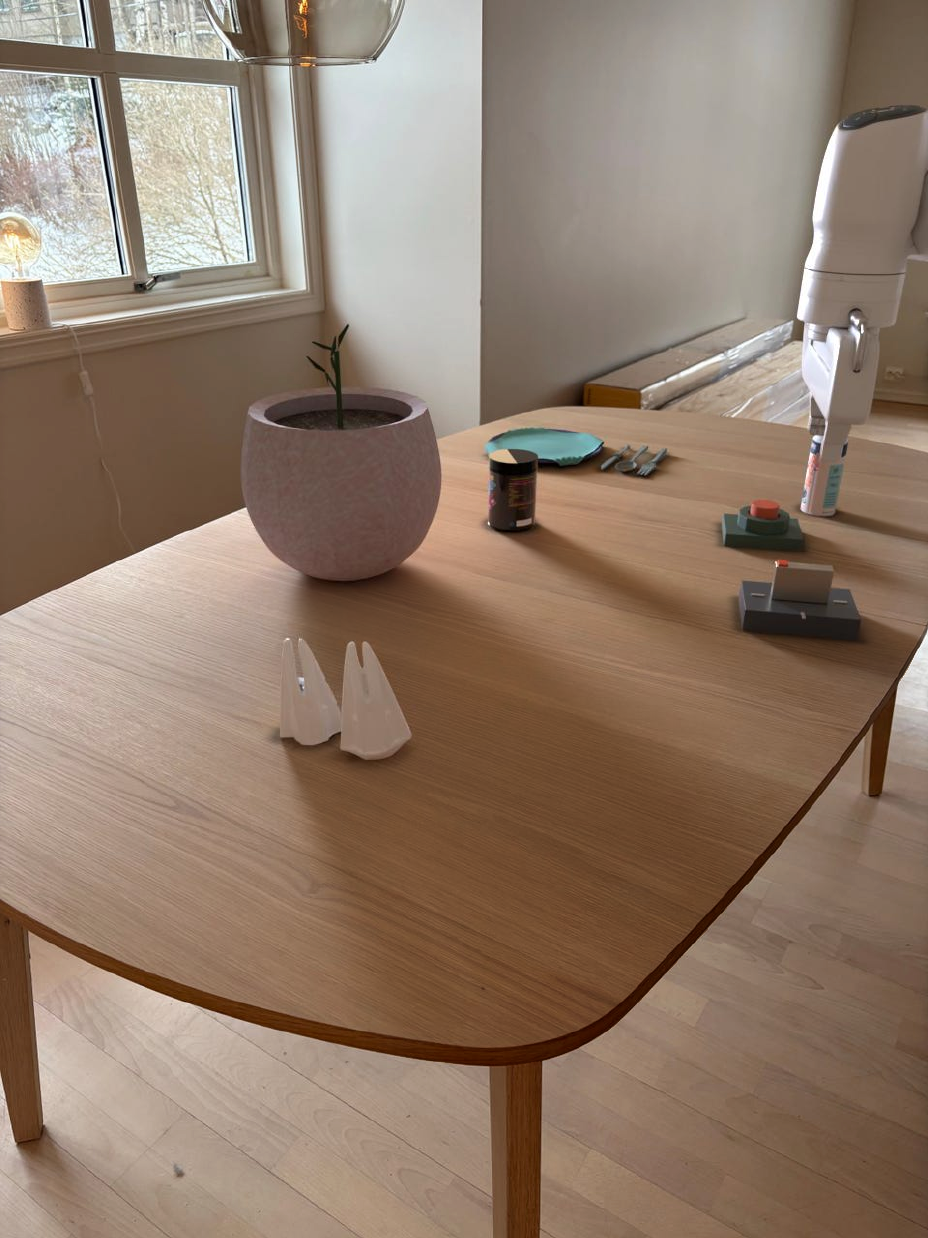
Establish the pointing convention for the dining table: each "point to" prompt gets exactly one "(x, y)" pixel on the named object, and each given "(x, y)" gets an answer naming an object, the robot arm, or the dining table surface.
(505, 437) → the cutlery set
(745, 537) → the button block
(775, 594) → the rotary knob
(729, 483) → the dining table surface
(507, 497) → the supplement container
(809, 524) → the dining table surface
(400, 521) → the plant pot
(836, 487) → the beer can
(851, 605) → the panel
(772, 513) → the button
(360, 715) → the shaker set
